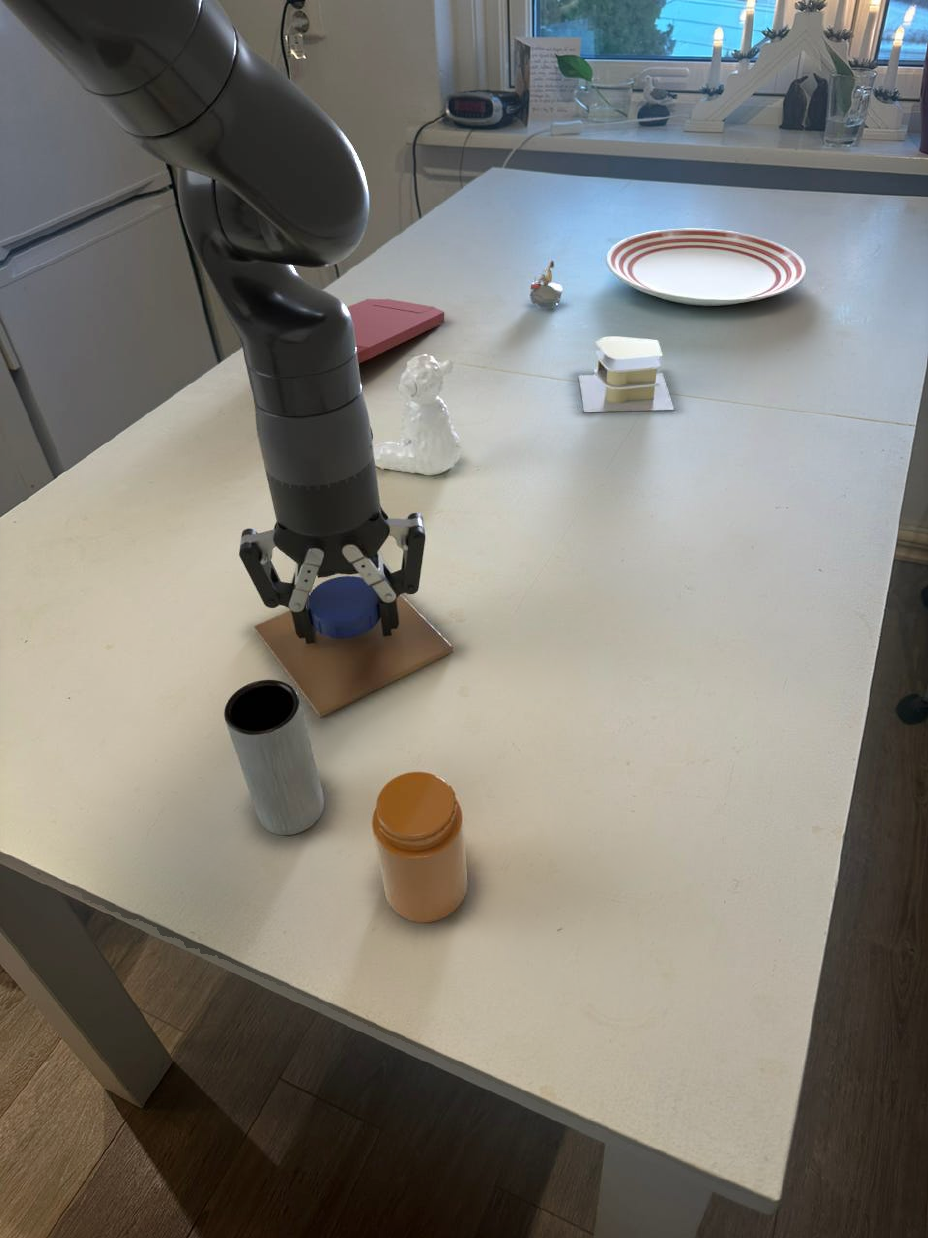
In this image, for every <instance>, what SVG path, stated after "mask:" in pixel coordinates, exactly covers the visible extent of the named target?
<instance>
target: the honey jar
mask: <svg viewBox="0 0 928 1238" xmlns="http://www.w3.org/2000/svg"><path fill="white" fill-rule="evenodd" d="M371 827H372V832H373V838H374V843H375V848H376V854H377V858H378V859H377V860H378V864H379V870H380V874H381V879H382V885H383V890H384V894H385V898H386V901H387V903H388V905H389V906H390V907H391V909H392V910H393V911H394V912H395V913H396V914H398V915H399V916H400V917H402V918H403V919H406V920H408V921H412V922H416V923H432V922H436V921H439V920H442V919H444V918H446V917H448V916H450V915H451V914H452V913H454V912H455V910H457V909H458V908H459V906H461V904H462V902H463V901H464V899H465V896H466V894H467V890H468V869H467V858H466V857H467V856H466V844H465V830H464V817H463V810H462V806H461V804H460V802H459V800H457V797H456V792H455V791H454V789H453V787H452V786H451V785H449V784H448V783H447V782H446V781H445V780H444V779H443V778H441V777H439V776H438V775H435V774H433V773H429V772H426V771H425V772H424V771H412V772H406V773H403V774H400V775H398V776H396V777H394V778H392V779H391V780H389V781H388V782H387V783H386V784H385V785H384V786H383V788H382V789H381V790H380V791H379V793H378V796H377V799H376V804H375V809H374V810H373V814H372V820H371Z"/></svg>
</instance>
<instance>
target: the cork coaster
mask: <svg viewBox="0 0 928 1238" xmlns="http://www.w3.org/2000/svg"><path fill="white" fill-rule="evenodd" d="M397 607H398V616H399V625H398V628H397V629H391V631H392V635H391V636H383V631H382V624H381V617H380V619H379V621H378V623H377V624H376V625H375V626H374V627H373V629H371V630H369V631H368V632H366V633H364V634H362V635H359V636H356V637H352V638H343V639H340V638H332V637H328V636H325V635H323V634H320V633H319V632H318V631H317V630H316V643H312V644H306V639H305V638H299V637H298V636H297V634H296V631H295V627H294V622H293V618H292V614H291V611H290V610H288V611H286V612H284V613H282V614H279V615H276V616H274V617H272V618H269V619H268V620H265V621H262V622H260V623H259V624H256V625H254V626H253V628H254V631H255V633H256V634H257V635H258V637H259V639H261V641H262V642H263V643H264V645H265V646H266V648H267V649H268V650H269V651H270V653H271V654H272V655H273V657H274V659H276V661H277V662H278V663H279V665H280V666H281V667H282V669H283V670H284V671H285V673H286V674H287V675H288V677H289V678H290V680H291V681H292V682H293V684H294V685H295V686H296V688H297V689H298V691H299V692H300V693H301V694H302V696H303V697H304V698H305V700H306V701H307V702H308V704H309V705H310V707H311V708H312V709H313V711H314V712H315V713H316V714H317V716H318V717H319V718H323V717H325V716H327V715H329V714H331V713H333V712H335V711H337V710H339V709H341V708H343V707H346V706H347V705H349V704H351V703H353V702H355V701H357V700H359V699H362V698H364V697H366V696H368V695H369V694H371V693H373V692H375V691H377V690H380V689H381V688H385V687H386V686H388V685H390V684H391V683H394V682H395V681H397V680H400V679H401V678H404V677H406V676H408V675H410V674H412V673H414V672H416V671H417V670H420V669H422V668H424V667H426V666H428V665H430V664H432V663H434V662H436V661H438V660H440V659H442V658H444V657H446V656H448V655H451V654H452V653H454V646H453V645H452V644H451V643H450V642H448V640H447V639H446V638H445V637H444V636H443V635H441V633H440V632H439V631H438V630H437V629H436V628H435V627H434V626H433V625H432V624H431V623H430V622H429V621H428V620H427V619H426V618H425V617H424V616H423V615H422V614H421V613H420V611H418V610H417V609H416V608H415V607H414V606H413V605H412V604H411V603H410V602H409V600H407V599H406V598H405V596H403V594H401V595H399V596H398V597H397Z"/></svg>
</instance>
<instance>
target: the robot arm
mask: <svg viewBox="0 0 928 1238" xmlns="http://www.w3.org/2000/svg"><path fill="white" fill-rule="evenodd" d="M0 2H1V4H3V5H4V6H5V8H6V9H7V10H8V11H9V12H10V13H11V14H12V15H13V16H14V17H15V19H16V20H17V21H19V23H20V24H21V25H22V26H23V27H24V28H25V29H26V31H28V32H29V33H30V34H31V36H33V38H34V39H35V40H36V41H37V42H38V43H39V44H40V46H42V47H43V48H44V49H45V50H46V51H47V52H48V54H49V55H50V56H51V57H52V58H53V59H54V60H55V61H56V62H57V63H58V64H59V65H60V66H61V68H63V69H64V70H65V72H67V74H69V75H70V77H71V78H72V79H73V80H74V81H75V82H76V83H77V84H78V85H79V86H80V87H81V88H82V89H83V90H84V91H85V92H86V94H88V96H90V97H91V99H92V100H93V101H94V102H95V103H96V104H97V105H98V106H99V107H100V108H101V109H102V110H103V111H104V112H105V113H106V114H107V116H109V118H111V119H112V120H113V122H115V123H116V124H117V125H118V126H119V128H120V129H122V130H123V131H124V133H126V135H128V137H129V138H130V139H131V140H132V141H134V142H135V143H136V144H137V145H138V146H139V147H141V148H142V149H143V150H144V151H145V152H146V153H148V154H150V155H151V156H152V157H154V158H155V159H157V160H159V161H161V162H163V163H165V164H167V165H169V166H173V167H175V168H178V171H177V198H178V205H179V210H180V214H181V219H182V222H183V225H184V228H185V231H186V234H187V237H188V239H189V241H190V243H191V246H192V249H193V251H194V253H195V255H196V256H197V259H198V260H199V263H200V265H201V267H202V269H203V270H204V272H205V275H206V276H207V278H208V281H209V283H210V284H211V286H212V289H213V290H214V292H215V295H216V297H217V299H218V301H219V302H220V304H221V307H222V309H223V311H224V313H225V315H226V316H227V318H228V321H230V323H231V326H232V327H233V328H234V330H235V332H236V334H237V336H238V339H239V340H240V344H241V347H242V353H243V357H244V362H245V368H246V371H247V376H248V381H249V386H250V390H251V395H252V399H253V404H254V415H255V416H254V417H255V427H256V435H257V439H258V444H259V449H260V453H261V457H262V461H263V466H264V471H265V475H266V480H267V484H268V488H269V494H270V498H271V502H272V506H273V511H274V516H275V519H276V522H275V524H274V527H273V529H270V530H266V531H263V532H258V531H257V530H256V529H254V528H249V527H248V528H245V529H243V530H242V531H241V537H240V544H239V551H238V556H239V559H240V560H241V562H242V564H243V566H244V568H245V570H246V571H247V573H248V576H249V577H250V579H251V581H252V583H253V586H254V588H255V589H256V591H257V593H258V595H259V598H260V599H261V601H262V603H263V605H264V606H265V607H267V608H268V609H276V608H277V607H279V606H283V607H285V608H288V609H289V611H291V614H292V618H293V622H294V627H295V631H296V634H297V636H298V637H299V638H305V639H306V644H312V643H316V629H315V628H314V627H313V625H312V622H311V617H310V613H309V595H310V594H311V592H312V591H313V587H314V584H315V582H316V578H317V579H320V578H329V577H332V576H334V575H335V576H336V575H338V574H339V575H346V576H352V575H359V576H360V578H363V579H364V581H365V582H366V583H367V585H368V586H369V587H370V586H372V588H373V589H374V590H375V592H376V593H377V594H378V602H379V610H380V617H381V624H382V631H383V636H391V635H392V631H391V629H397V628H398V625H399V616H398V607H397V597H398V596H399V595H403V594H407V595H414V594H417V592H418V591H419V590H420V589H419V588H420V581H421V574H422V566H423V560H424V553H425V552H424V551H425V545H426V538H427V537H426V529H425V523H424V517H423V515H422V514H420V513H419V512H412V513H410V514H409V515H407V518H391V517H390V518H389V516H388V514H387V513H386V512H385V511H384V509H383V508H382V506H381V499H380V493H379V484H378V475H377V469H376V468H377V466H375V459H374V451H373V445H374V444H373V442H374V441H373V439H374V434H373V429H372V427H371V419H370V415H369V411H368V406H367V403H366V400H365V397H364V393H363V392H364V391H363V386H362V381H361V374H360V373H361V372H360V366H359V365H360V363H359V364H358V357H357V349H356V340H355V333H354V327H353V322H352V318H351V315H350V313H349V311H348V309H347V307H348V306H346V304H345V303H344V302H343V301H342V300H341V299H339V298H337V297H336V296H335V295H333V294H331V293H329V292H328V291H325V290H323V289H321V288H319V287H317V286H315V285H313V284H311V283H310V282H308V281H306V280H305V279H304V278H303V277H301V275H299V273H298V272H297V271H296V269H295V267H301V268H306V269H307V268H308V269H309V268H311V269H319V268H327V267H331V266H334V265H337V264H339V263H341V262H343V261H344V260H346V259H347V258H348V257H349V256H351V254H353V253H354V251H355V250H356V249H357V248H358V246H359V245H360V243H361V241H362V239H363V237H364V235H365V234H366V233H365V232H366V230H367V226H368V222H369V214H370V194H369V193H370V192H369V188H368V187H369V186H368V183H367V178H366V175H365V171H364V168H363V165H362V163H361V161H360V159H359V156H358V154H357V152H356V150H355V148H354V147H353V145H352V144H351V142H350V140H349V139H348V137H347V135H346V134H345V133H344V132H343V131H342V130H341V128H340V127H339V126H338V125H337V123H336V122H335V121H334V120H333V119H332V117H330V116H329V115H328V114H327V112H325V111H324V110H323V109H322V108H321V106H319V105H318V104H317V103H316V102H315V101H313V100H312V98H310V97H309V96H308V95H307V94H306V93H305V92H304V91H303V90H302V89H300V88H299V87H298V85H296V84H295V83H294V82H293V81H291V80H290V79H289V78H288V77H287V76H286V75H285V74H284V73H283V72H281V70H279V68H278V67H276V66H275V65H274V64H273V63H271V62H270V60H269V61H268V60H267V59H266V58H265V57H264V56H263V55H261V54H259V52H257V51H256V50H255V49H254V48H253V47H251V46H250V45H249V44H248V43H247V42H246V41H245V40H244V38H243V37H242V35H241V34H240V32H239V31H238V29H237V28H236V26H235V25H234V23H233V21H232V20H231V18H230V17H229V15H228V13H227V12H226V10H225V9H224V8H223V6H222V5H221V4H220V3H221V2H219V0H0ZM389 536H390V537H393V538H394V539H395V540H396V541H395V542H396V545H397V547H398V548H399V549H401V550H402V558H401V568H400V569H399V570H396V571H392V569H391V568H390V566H388V564H387V563H386V560H385V559H384V557H383V554H382V553H381V551H380V549H381V548H382V547H383V545H384V543H386V541H387V539H388V538H389ZM275 548H277V549H278V550H280V551H281V552H282V553H283V554H285V555H286V556H287V557H288V558H289V559H291V560H292V561H293V562H295V567H294V571H293V574H292V576H291V577H292V578H291V580H290V582H286V581H282V580H281V578H280V576H279V574H278V572H277V569H276V568H275V566H274V564H273V562H272V559H273V554H274V553H273V552H274V549H275Z"/></svg>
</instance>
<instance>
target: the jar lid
mask: <svg viewBox="0 0 928 1238" xmlns="http://www.w3.org/2000/svg"><path fill="white" fill-rule="evenodd" d="M309 613H310V617H311V622H312V625H313V627H314V628H315V629H316V630H317V631H318V632H319V633H320V634H323V635H325V636H328V637H332V638H340V639H343V638H352V637H356V636H359V635H362V634H364V633H366V632H368V631H369V630H371V629H373V627H374V626H375V625H376V624H377V623H378V621H379V619H380V610H379V602H378V594H377V593H376V592H375V590H374V589H373V588H372V586H370V587H369V586H368V585H367V583H366V582H365V581H364V579H363V578H362V577H361V576H355V575H343V576H337V577H333V578H329V579H327V580H324V581H322V582H321V583H320V584H318V585H317V586H315V587H314V589H312V590H311V592H310V593H309Z"/></svg>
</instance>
